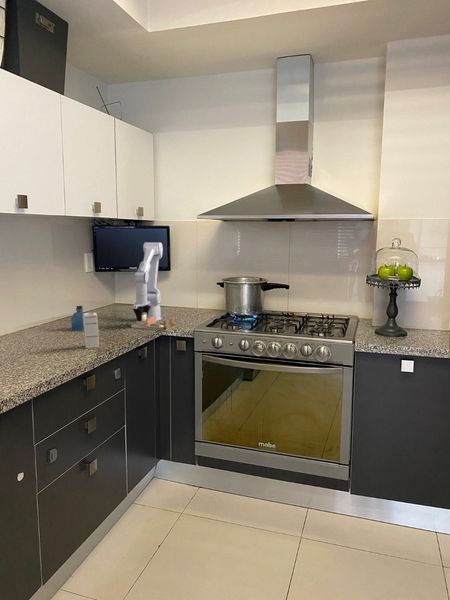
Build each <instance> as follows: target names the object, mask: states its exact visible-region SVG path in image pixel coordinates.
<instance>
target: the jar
mask: <svg viewBox="0 0 450 600" xmlns="http://www.w3.org/2000/svg"><path fill="white" fill-rule="evenodd" d="M146 319H147V312H143V313H142V321H137V320H136V325H145V324H146Z"/></svg>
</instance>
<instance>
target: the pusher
mask: <svg viewBox="0 0 450 600" xmlns="http://www.w3.org/2000/svg"><path fill="white" fill-rule="evenodd" d="M157 322H158V321H156V316H154V317H151V318H148V319H146V326H156V327H157V326H160V325H161V323H157Z"/></svg>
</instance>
